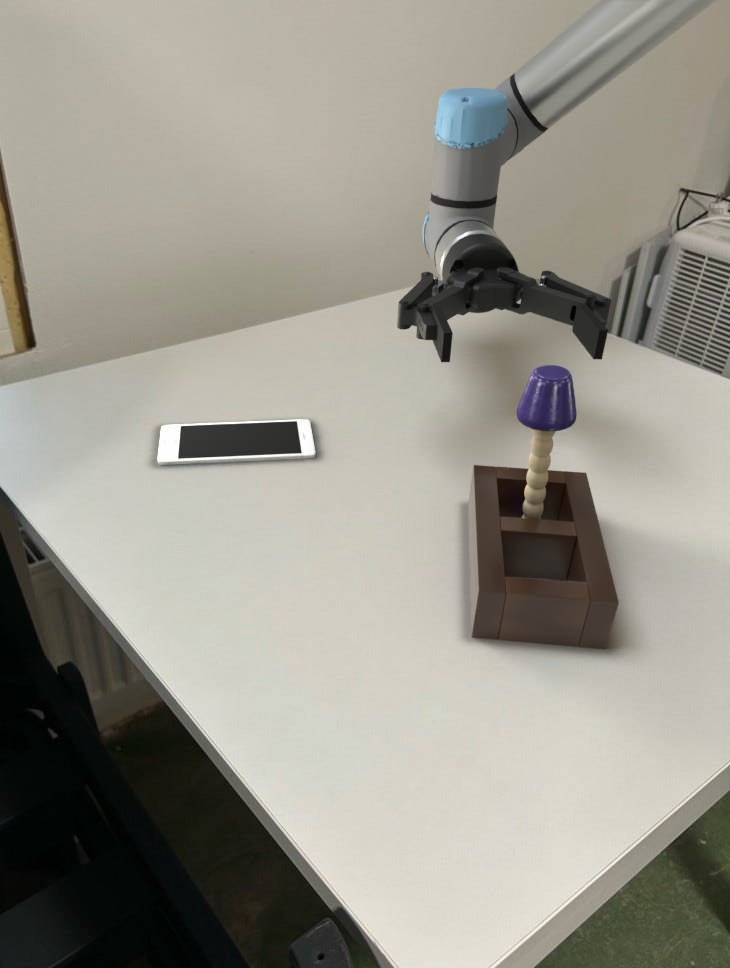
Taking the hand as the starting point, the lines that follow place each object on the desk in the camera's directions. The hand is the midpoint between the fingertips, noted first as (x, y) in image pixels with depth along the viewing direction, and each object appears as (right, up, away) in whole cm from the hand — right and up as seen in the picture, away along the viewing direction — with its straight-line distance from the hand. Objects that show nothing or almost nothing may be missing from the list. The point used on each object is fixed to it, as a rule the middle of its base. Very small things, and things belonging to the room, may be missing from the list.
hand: (524, 346), depth 72 cm
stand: (0, -20, -2) cm, 20 cm away
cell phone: (-27, -7, +15) cm, 31 cm away
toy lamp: (0, -18, +1) cm, 18 cm away
